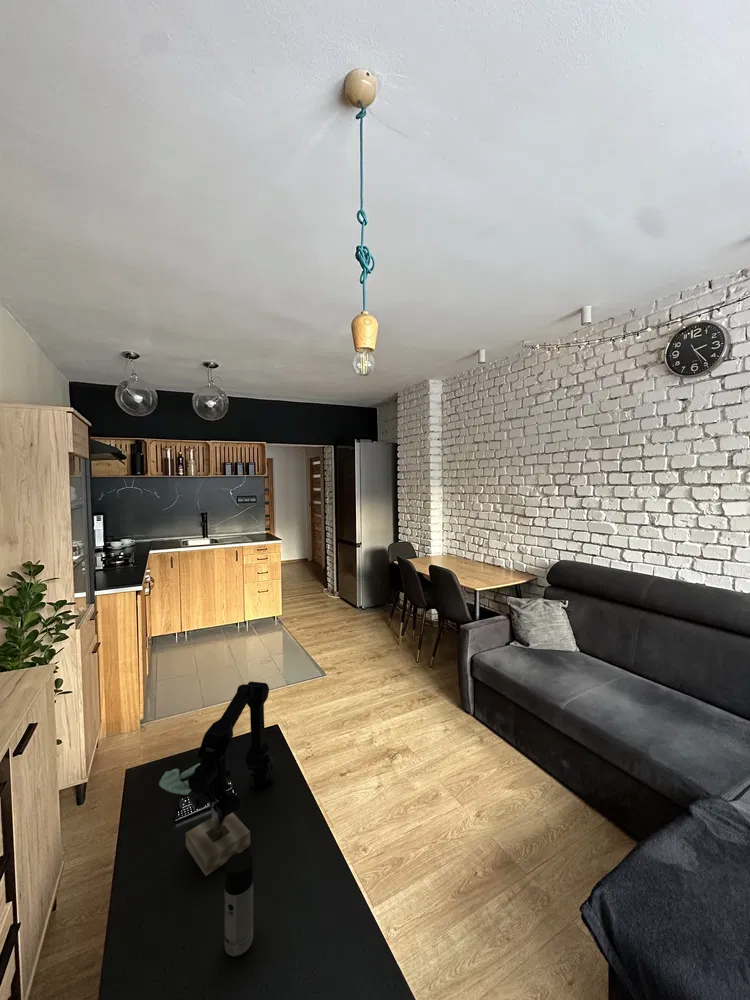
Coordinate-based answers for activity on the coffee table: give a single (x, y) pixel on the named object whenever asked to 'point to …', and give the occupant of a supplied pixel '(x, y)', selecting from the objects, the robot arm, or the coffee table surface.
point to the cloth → (176, 781)
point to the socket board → (217, 842)
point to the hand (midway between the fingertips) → (218, 819)
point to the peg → (215, 817)
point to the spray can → (238, 904)
